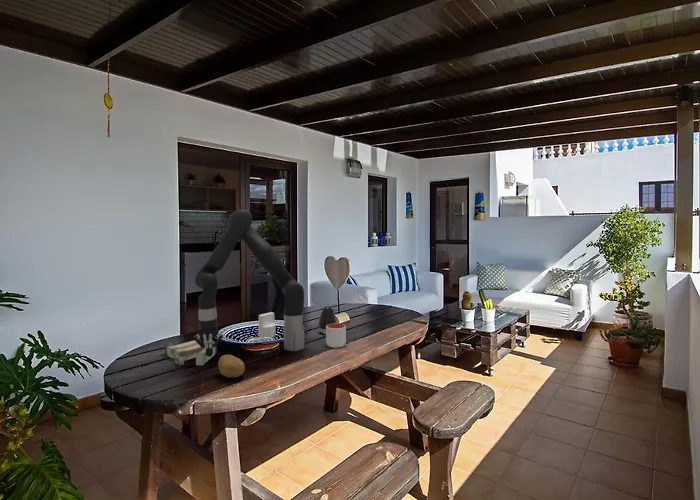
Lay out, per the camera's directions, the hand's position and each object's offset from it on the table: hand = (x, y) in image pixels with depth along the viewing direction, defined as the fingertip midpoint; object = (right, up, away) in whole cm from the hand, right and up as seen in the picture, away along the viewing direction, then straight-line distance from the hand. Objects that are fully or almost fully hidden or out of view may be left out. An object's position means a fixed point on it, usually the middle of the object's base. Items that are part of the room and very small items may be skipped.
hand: (209, 356), depth 177 cm
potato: (+14, -5, -14) cm, 21 cm away
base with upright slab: (+17, 0, +41) cm, 44 cm away
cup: (+55, -2, +26) cm, 61 cm away
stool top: (-13, -2, +9) cm, 17 cm away
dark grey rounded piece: (+50, 0, +47) cm, 68 cm away
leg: (-3, -2, +5) cm, 6 cm away
